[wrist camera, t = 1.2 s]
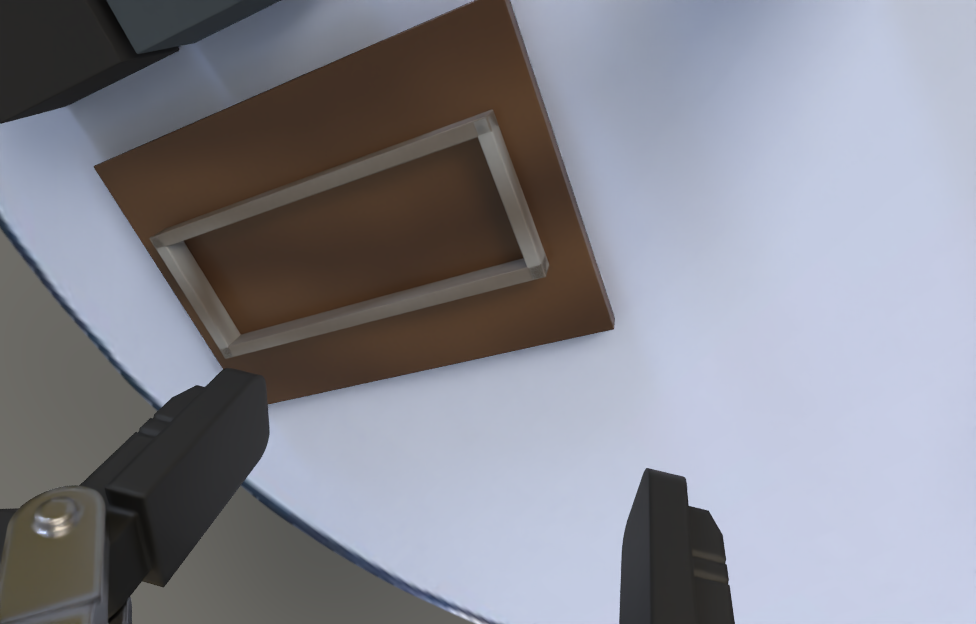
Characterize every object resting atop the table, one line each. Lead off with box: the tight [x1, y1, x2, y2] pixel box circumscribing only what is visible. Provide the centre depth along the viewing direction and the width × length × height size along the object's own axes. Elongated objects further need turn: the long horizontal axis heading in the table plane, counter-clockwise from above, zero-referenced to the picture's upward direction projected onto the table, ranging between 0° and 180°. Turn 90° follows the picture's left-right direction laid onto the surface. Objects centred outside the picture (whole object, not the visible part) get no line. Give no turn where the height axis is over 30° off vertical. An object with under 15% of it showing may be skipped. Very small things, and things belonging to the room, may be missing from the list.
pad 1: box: [0, 0, 179, 124], centre depth 32 cm, size 5×9×4 cm, turn 111°
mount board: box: [94, 0, 615, 404], centre depth 36 cm, size 18×26×3 cm
